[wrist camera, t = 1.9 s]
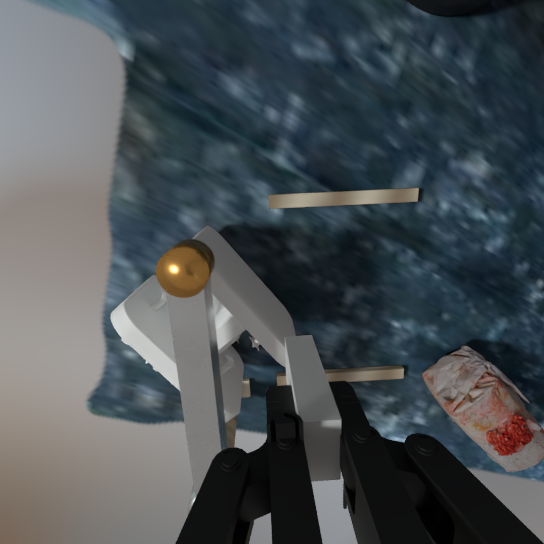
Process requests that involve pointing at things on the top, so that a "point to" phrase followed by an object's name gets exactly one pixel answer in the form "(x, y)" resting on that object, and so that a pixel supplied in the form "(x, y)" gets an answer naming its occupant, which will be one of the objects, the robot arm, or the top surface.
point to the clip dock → (334, 200)
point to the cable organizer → (228, 319)
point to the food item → (487, 408)
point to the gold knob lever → (195, 351)
